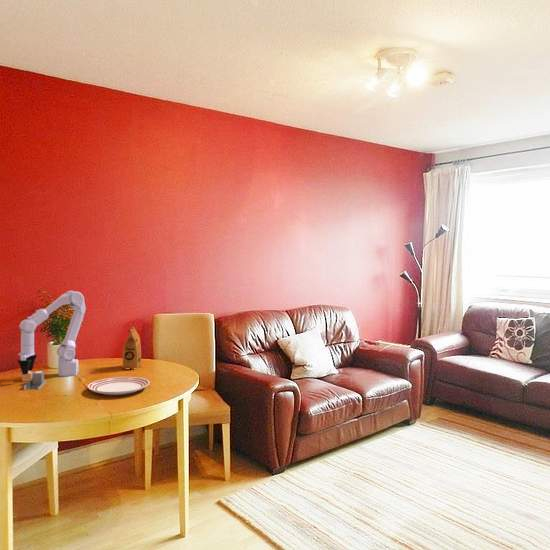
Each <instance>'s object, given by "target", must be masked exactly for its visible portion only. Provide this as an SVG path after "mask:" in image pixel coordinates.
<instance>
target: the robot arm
mask: <svg viewBox="0 0 550 550" xmlns="http://www.w3.org/2000/svg"><path fill="white" fill-rule="evenodd" d="M85 302H86V301H85V297H84V295H83V294H82V292H80V291H75V290H67V291H66V292H64V293H62V294H61V295H60V296H59V297H58V298H57V299H55V300H54V301H53V302H52V303H50V304H49V305H48V306H47V307H45V308H40V309H36V310H35V312H34V313H33V314H32V315H30V316H27V319H23V320H21V321H20V324H18V325H19V326H18V327H19V329H20V332H21V333H20V352H19V353H18V354H17V355H18V356H20V358H19V359H17V363H18V364H19V366H20V367H19V368H20V370H21V375H22V374H28V371H33V369H34V364H35V361H36V359H37V357H38V355H37V354H35V330H36V329H37V327H38V326H39V325H41V324H42V323H43V322H45V321H46V320H47V319H49V316H50V314H51V313H52V312H54V311H56V310H57V309H59V308H60V307H62V306H63V305H64V306H65V305H71V308H72V309H73V313H72V316H71V319H70V322H69V324H68V328H67V330H66V334H65V337H64V339H63V341H61V343H60V345H59V346H58V348H57V349H56V354H57V356H58V358H57V362H58V363H57V365H58V366H57V367H58V368H57V369H58V371H57V372H58V374H57V375H58V376H59V377H70V376H71V377H72V376H74V377H76V376H77V375H78V374H79V373H80V372H79V359H76V358H75V356H76V347H77V345H76V340H77V336H78V334H79V331H80V328H81V326H82V322H83V319H84V315H85V313H86V310H87V308H86V307H87V306H86V304H85Z"/></svg>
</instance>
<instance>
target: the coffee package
mask: <svg viewBox="0 0 550 550" xmlns="http://www.w3.org/2000/svg"><path fill="white" fill-rule="evenodd" d="M127 333H129V335H128V337H127V339H126V341H125V342H124V345H123V348H122V368H131V370H133V369H134V368H140V367H141V366H142V346H141V345H142V344H141V337H140V334H139V333H138V332H137V330H136V328H135V326H132V327H131V328H130V329H129V330H127ZM139 366H140V367H139Z"/></svg>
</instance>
